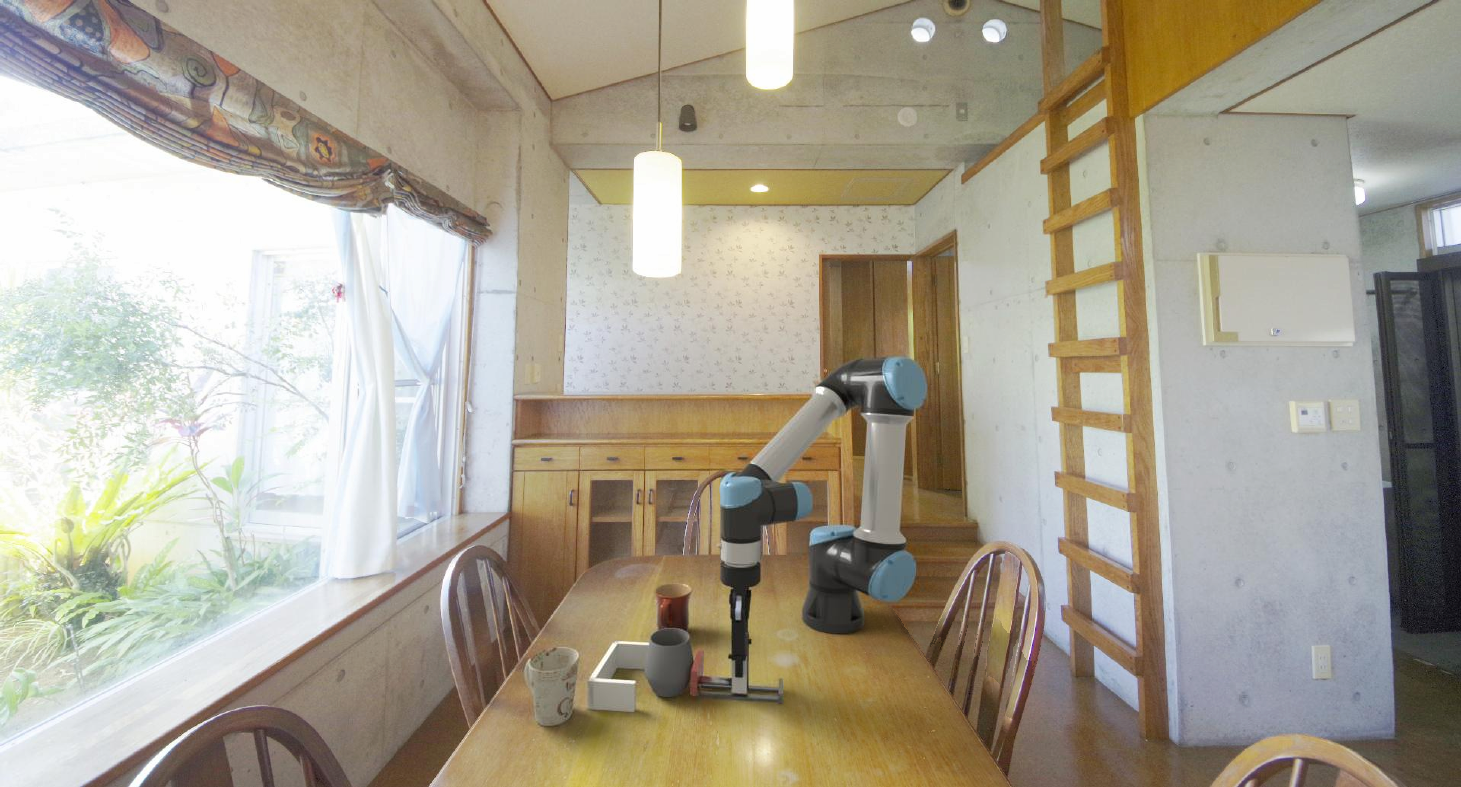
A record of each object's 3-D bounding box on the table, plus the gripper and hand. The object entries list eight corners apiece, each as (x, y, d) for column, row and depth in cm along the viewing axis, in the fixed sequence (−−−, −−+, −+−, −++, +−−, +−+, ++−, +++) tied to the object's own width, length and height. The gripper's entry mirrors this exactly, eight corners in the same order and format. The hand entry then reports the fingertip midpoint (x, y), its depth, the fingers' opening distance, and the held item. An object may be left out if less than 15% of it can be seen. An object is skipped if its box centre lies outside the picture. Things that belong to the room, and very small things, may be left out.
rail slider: (749, 676, 102) (750, 625, 102) (747, 700, 94) (747, 645, 94) (697, 673, 103) (697, 622, 103) (690, 697, 95) (690, 642, 95)
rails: (782, 689, 100) (782, 678, 100) (782, 704, 95) (782, 693, 95) (701, 684, 102) (701, 673, 102) (697, 699, 97) (697, 688, 97)
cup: (639, 681, 102) (639, 630, 102) (685, 672, 106) (685, 622, 106) (651, 709, 94) (652, 653, 94) (701, 697, 97) (701, 643, 97)
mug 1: (550, 737, 86) (550, 676, 86) (502, 712, 93) (502, 655, 93) (588, 711, 93) (589, 654, 93) (542, 689, 100) (542, 636, 100)
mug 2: (661, 623, 128) (661, 581, 128) (696, 627, 126) (696, 584, 126) (643, 647, 116) (643, 601, 116) (681, 651, 114) (681, 604, 114)
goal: (654, 667, 108) (654, 643, 108) (634, 712, 93) (634, 683, 93) (614, 665, 109) (614, 640, 109) (587, 709, 94) (587, 681, 94)
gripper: (724, 547, 107) (724, 662, 107) (715, 575, 91) (715, 711, 91) (761, 548, 106) (761, 664, 106) (759, 577, 90) (758, 713, 90)
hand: (740, 685), depth 99 cm, fingers closed on rail slider, 3 cm apart
